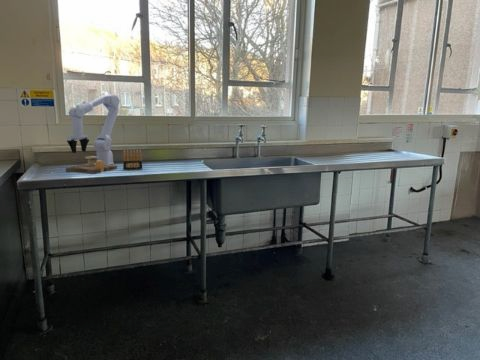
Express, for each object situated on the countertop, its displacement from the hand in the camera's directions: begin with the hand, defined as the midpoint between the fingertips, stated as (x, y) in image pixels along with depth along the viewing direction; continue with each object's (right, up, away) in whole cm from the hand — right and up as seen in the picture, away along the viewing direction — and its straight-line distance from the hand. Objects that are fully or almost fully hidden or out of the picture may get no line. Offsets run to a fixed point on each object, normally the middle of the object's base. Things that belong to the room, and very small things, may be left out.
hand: (79, 152), depth 208 cm
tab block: (+15, -11, -7) cm, 20 cm away
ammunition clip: (+31, -10, +2) cm, 33 cm away
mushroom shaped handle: (+7, -8, 0) cm, 10 cm away
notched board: (+9, -10, -3) cm, 14 cm away
